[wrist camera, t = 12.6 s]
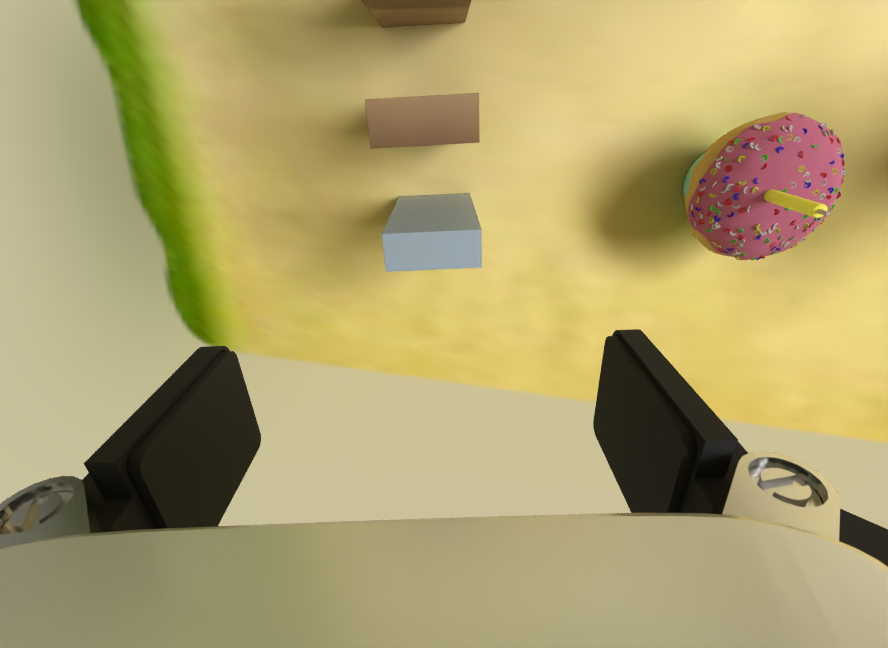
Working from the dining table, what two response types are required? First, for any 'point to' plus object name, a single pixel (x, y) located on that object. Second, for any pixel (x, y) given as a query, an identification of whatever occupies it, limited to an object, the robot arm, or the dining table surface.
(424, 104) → the domino
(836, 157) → the cupcake
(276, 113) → the dining table surface
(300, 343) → the dining table surface
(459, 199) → the domino
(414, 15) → the domino
